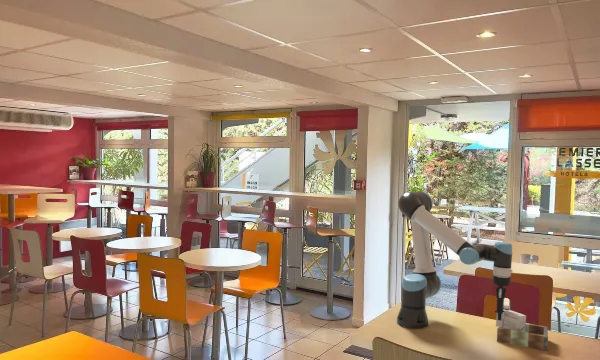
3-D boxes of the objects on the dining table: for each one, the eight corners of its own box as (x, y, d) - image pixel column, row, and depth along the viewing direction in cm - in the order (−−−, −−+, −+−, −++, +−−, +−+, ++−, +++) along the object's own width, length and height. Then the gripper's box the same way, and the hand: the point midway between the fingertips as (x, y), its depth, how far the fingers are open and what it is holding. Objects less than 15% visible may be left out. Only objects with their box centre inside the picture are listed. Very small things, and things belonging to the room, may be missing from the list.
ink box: (525, 341, 209) (527, 315, 208) (518, 343, 206) (520, 316, 206) (508, 334, 216) (509, 309, 216) (501, 336, 213) (503, 310, 213)
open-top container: (496, 341, 207) (497, 328, 207) (499, 331, 221) (499, 318, 221) (547, 350, 198) (547, 337, 198) (546, 339, 212) (547, 326, 211)
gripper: (509, 280, 205) (507, 332, 206) (511, 274, 217) (508, 323, 218) (491, 277, 209) (489, 329, 210) (494, 272, 220) (491, 320, 221)
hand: (499, 326), depth 214 cm, fingers closed
